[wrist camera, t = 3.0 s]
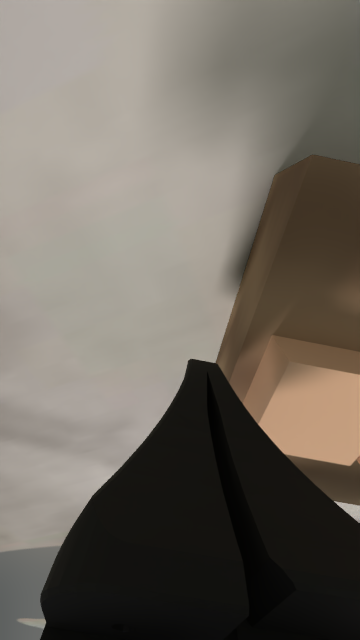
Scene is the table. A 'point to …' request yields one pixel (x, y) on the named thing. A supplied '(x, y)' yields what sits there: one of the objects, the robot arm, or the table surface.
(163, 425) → the robot arm
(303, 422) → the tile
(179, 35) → the table surface
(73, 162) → the table surface
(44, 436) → the table surface
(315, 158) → the board
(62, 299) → the table surface
